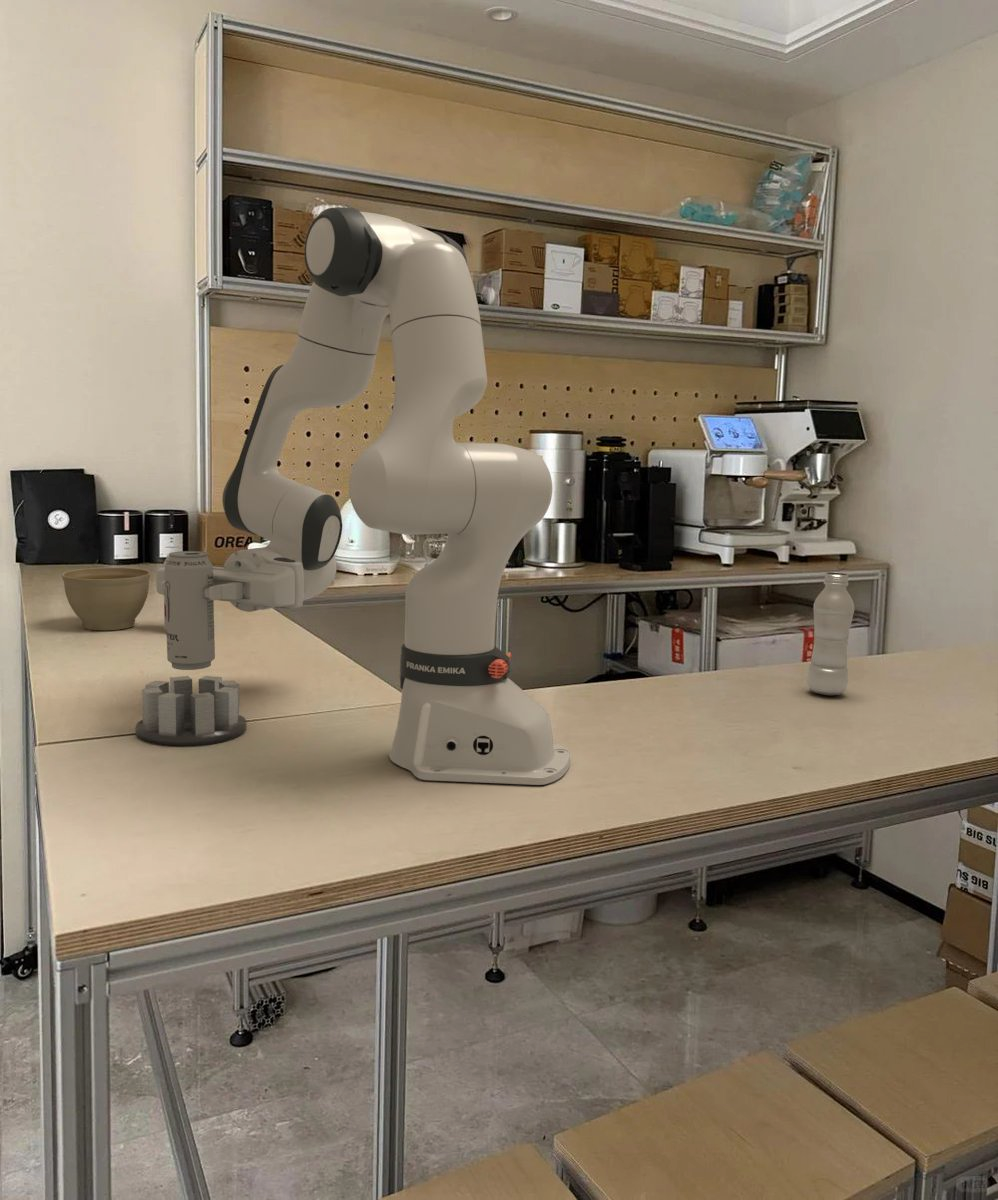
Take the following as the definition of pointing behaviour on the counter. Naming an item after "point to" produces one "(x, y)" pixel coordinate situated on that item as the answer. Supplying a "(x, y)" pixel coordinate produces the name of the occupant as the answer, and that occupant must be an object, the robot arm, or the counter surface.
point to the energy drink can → (189, 610)
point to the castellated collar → (190, 712)
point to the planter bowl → (107, 596)
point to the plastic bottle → (831, 636)
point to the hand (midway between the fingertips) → (185, 591)
